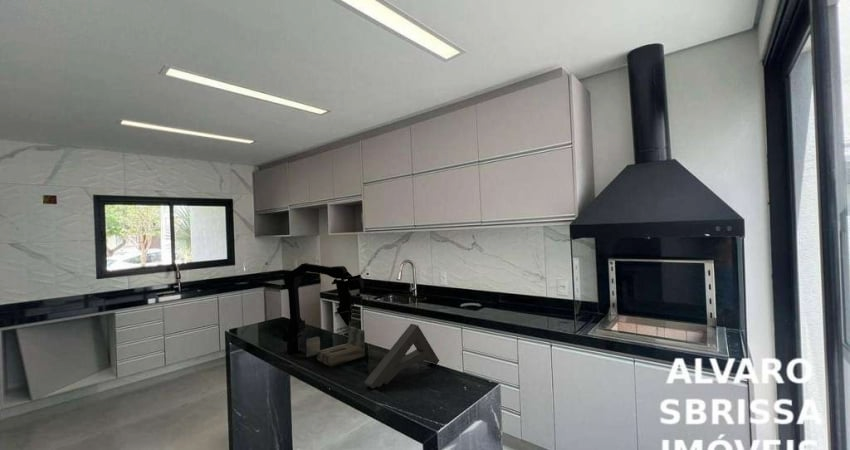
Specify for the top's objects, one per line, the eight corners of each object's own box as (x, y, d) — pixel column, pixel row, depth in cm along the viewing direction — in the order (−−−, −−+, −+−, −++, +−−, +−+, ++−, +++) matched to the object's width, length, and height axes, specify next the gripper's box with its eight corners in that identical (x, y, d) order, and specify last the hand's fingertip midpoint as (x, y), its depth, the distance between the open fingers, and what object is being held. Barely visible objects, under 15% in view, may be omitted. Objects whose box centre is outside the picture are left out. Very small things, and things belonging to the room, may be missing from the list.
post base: (317, 359, 159) (317, 333, 159) (350, 350, 172) (350, 326, 172) (330, 366, 151) (330, 339, 151) (364, 356, 163) (364, 330, 164)
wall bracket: (390, 417, 138) (432, 358, 156) (397, 421, 135) (439, 360, 153) (363, 382, 130) (411, 323, 148) (370, 385, 127) (418, 325, 144)
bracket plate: (306, 356, 165) (306, 339, 165) (318, 352, 169) (317, 336, 169) (308, 356, 163) (308, 340, 164) (320, 353, 168) (319, 337, 168)
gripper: (358, 290, 160) (364, 323, 159) (361, 286, 178) (366, 316, 178) (334, 295, 158) (340, 329, 158) (339, 290, 177) (344, 321, 176)
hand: (349, 323), depth 167 cm, fingers open, 9 cm apart
